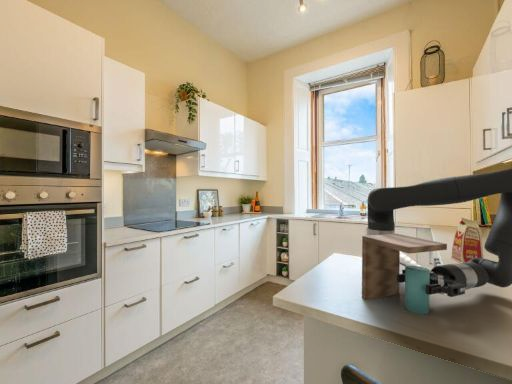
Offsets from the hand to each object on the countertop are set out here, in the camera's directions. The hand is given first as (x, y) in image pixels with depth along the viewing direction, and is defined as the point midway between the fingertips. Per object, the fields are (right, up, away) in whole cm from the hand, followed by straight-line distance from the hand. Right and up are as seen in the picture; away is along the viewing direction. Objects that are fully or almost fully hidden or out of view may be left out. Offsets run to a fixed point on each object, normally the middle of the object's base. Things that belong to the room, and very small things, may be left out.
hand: (411, 284), depth 67 cm
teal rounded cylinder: (+2, -7, +1) cm, 7 cm away
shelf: (-1, -7, +3) cm, 8 cm away
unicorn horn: (+24, -7, +38) cm, 46 cm away
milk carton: (+54, -7, +46) cm, 71 cm away
